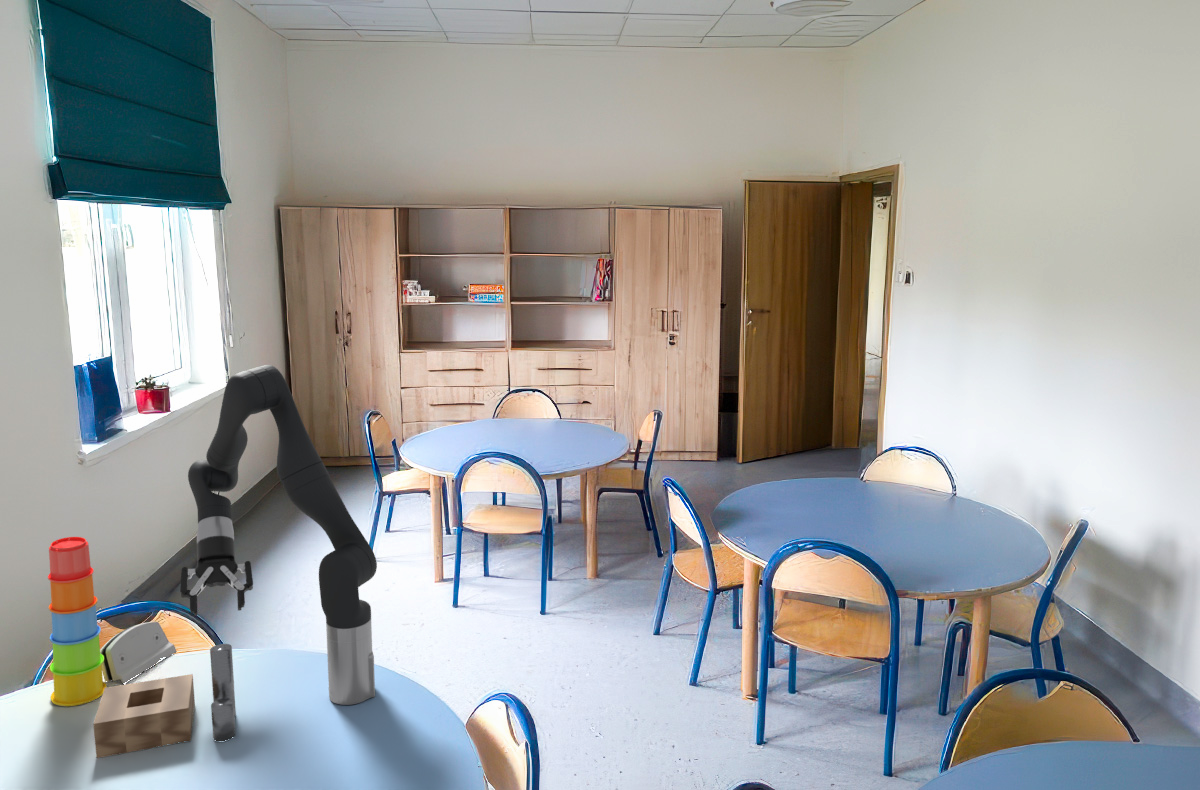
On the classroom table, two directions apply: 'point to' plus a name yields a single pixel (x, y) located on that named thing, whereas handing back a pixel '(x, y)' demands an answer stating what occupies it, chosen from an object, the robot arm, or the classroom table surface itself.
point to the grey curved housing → (134, 651)
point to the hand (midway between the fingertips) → (218, 611)
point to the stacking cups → (74, 625)
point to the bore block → (144, 715)
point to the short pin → (223, 719)
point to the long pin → (222, 672)
